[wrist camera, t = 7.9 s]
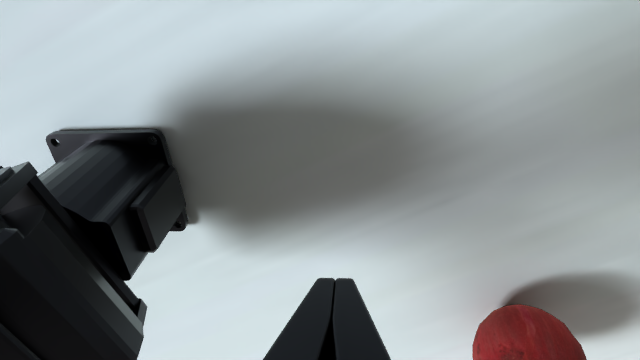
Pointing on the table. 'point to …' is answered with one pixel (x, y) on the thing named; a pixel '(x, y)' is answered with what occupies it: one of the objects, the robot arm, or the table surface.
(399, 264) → the table surface
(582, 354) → the onion
